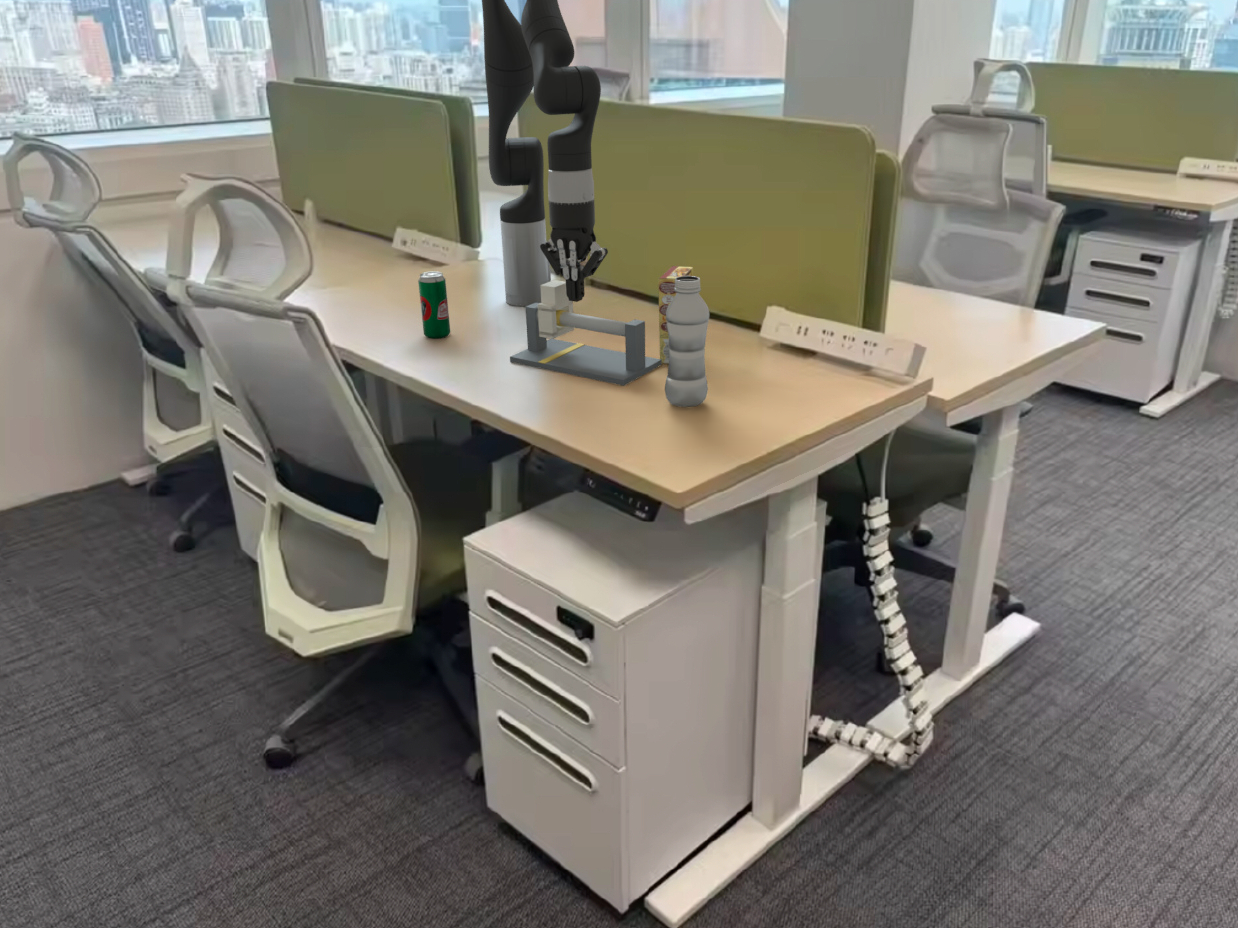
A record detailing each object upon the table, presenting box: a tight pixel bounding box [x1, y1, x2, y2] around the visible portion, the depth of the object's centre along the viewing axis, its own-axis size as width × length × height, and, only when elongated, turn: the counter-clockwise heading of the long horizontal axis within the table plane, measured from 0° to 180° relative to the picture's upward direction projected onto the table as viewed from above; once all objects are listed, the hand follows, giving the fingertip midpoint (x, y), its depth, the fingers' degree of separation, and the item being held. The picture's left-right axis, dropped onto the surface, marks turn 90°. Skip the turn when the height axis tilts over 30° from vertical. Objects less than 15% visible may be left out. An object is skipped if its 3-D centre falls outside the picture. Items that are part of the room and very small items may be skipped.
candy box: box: [657, 265, 694, 365], centre depth 175 cm, size 9×4×15 cm, turn 162°
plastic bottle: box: [664, 275, 710, 408], centre depth 153 cm, size 6×7×20 cm
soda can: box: [417, 270, 451, 340], centre depth 190 cm, size 5×5×12 cm
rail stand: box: [509, 303, 662, 387], centre depth 174 cm, size 12×24×9 cm, turn 57°
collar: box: [538, 279, 575, 339], centre depth 175 cm, size 6×3×9 cm, turn 147°
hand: (575, 300), depth 171 cm, fingers closed
